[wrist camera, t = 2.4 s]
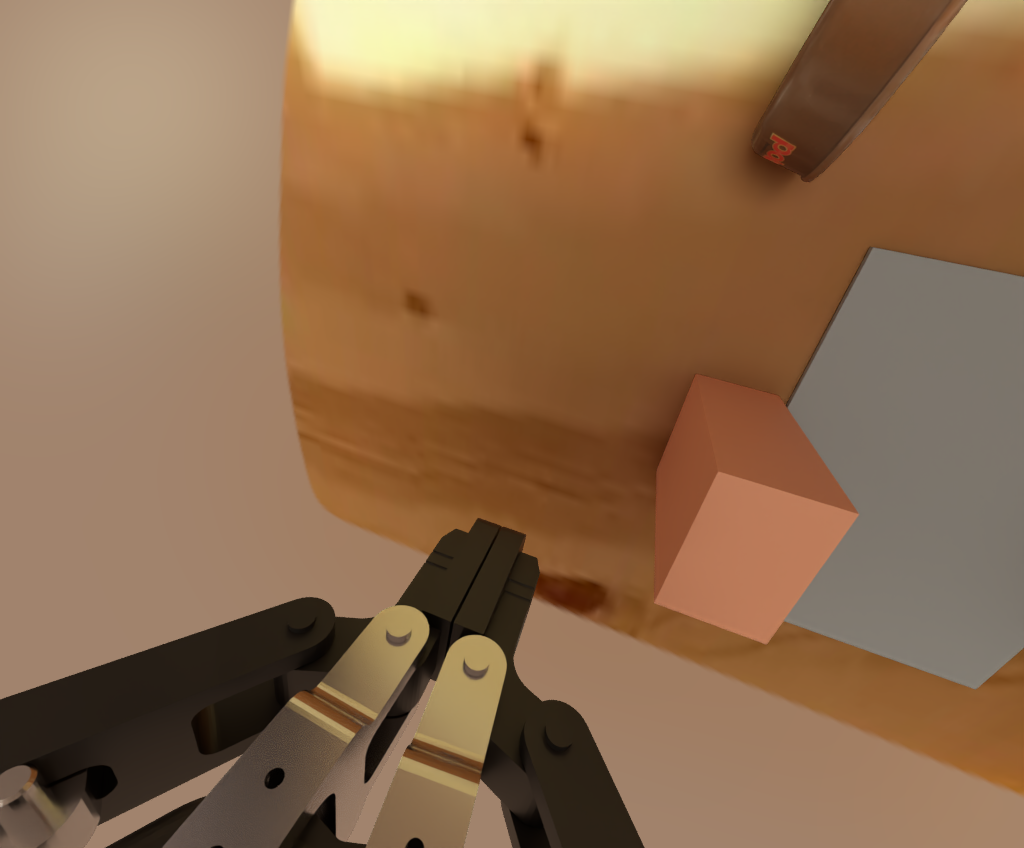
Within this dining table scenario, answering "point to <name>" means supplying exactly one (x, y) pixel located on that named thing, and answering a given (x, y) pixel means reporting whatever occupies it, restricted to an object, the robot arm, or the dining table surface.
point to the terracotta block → (742, 510)
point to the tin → (846, 78)
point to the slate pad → (922, 465)
